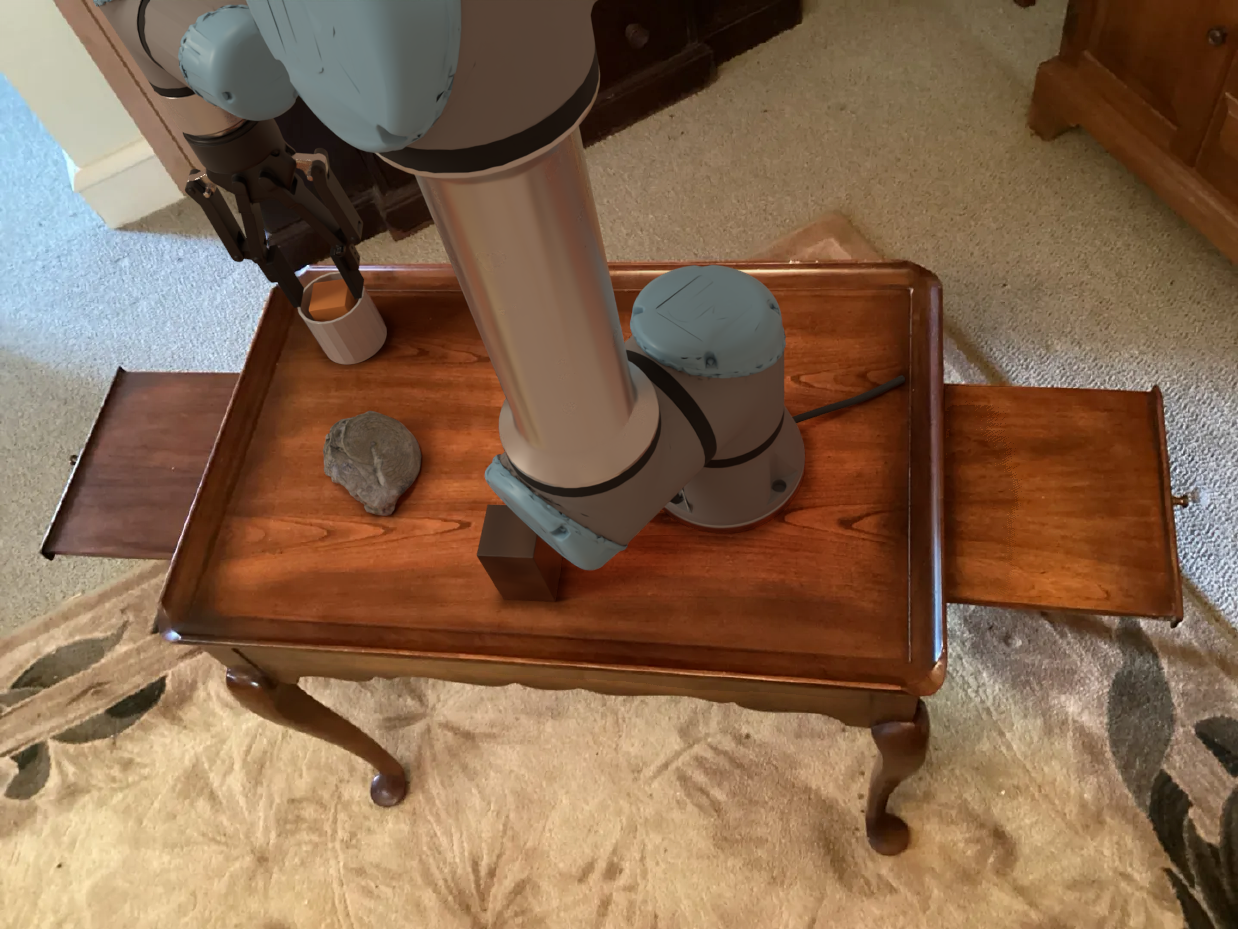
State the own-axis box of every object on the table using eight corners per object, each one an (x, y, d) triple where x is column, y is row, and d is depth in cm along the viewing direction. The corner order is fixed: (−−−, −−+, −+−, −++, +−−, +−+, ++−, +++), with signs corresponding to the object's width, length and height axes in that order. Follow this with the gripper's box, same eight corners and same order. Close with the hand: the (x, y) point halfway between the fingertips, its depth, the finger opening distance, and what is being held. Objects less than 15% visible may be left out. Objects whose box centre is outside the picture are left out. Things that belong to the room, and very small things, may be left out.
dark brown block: (563, 552, 90) (542, 505, 83) (555, 602, 88) (533, 557, 80) (512, 551, 91) (487, 503, 84) (503, 599, 88) (476, 555, 81)
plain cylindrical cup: (389, 309, 110) (367, 266, 105) (384, 359, 106) (360, 318, 101) (328, 318, 111) (302, 276, 105) (320, 368, 107) (292, 327, 101)
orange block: (372, 320, 109) (348, 277, 103) (369, 347, 107) (344, 305, 101) (339, 325, 110) (313, 282, 104) (334, 352, 108) (308, 310, 102)
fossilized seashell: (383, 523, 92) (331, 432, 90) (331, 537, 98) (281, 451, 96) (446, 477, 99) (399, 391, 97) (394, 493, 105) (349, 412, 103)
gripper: (330, 67, 84) (417, 255, 103) (128, 102, 86) (250, 280, 106) (319, 122, 80) (412, 307, 99) (107, 157, 82) (238, 332, 101)
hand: (329, 293), depth 102 cm, fingers open, 6 cm apart
